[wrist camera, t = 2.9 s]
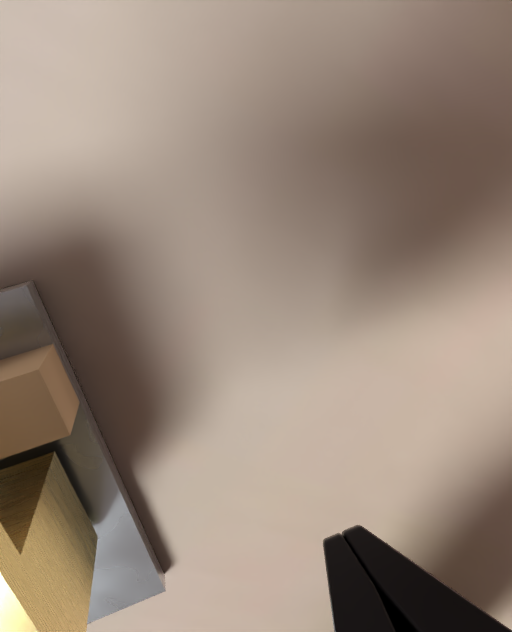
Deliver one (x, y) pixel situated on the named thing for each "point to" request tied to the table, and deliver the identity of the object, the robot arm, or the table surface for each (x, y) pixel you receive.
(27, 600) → the sliding head
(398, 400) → the table surface
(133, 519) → the flange plate
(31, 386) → the divider beam
